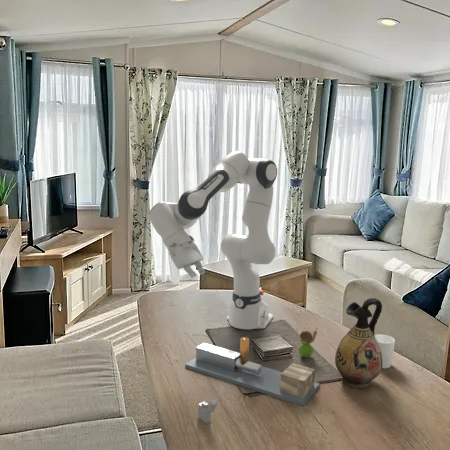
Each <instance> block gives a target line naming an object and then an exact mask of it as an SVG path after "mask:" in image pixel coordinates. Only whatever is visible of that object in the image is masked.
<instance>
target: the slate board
mask: <svg viewBox="0 0 450 450" xmlns="http://www.w3.org/2000/svg"><path fill="white" fill-rule="evenodd" d="M261 366H262V369H261V372H260V374H256V373H253V372H249V371H246V370H243V369H240V368H239V369H238V370H236V371H235V372H231V371H228V370H225V369H222V368H218V367H215V366H212V365H209V364H206V363H203V362H200V361H196V356H195V357H194V358H192V359H191V360H189V361H188V362H186V363H185V364H184V367H185V368H186V369H188V370H189V369H190V370H191V371H195V372H199V373H202V374H204V375H207V376H209V377H214V378H217V379H220V380H223V381H225V382H228V383H232V384H234V385H236V386H240V385H241V387H243V386H244V388H246V387H247V389H249V388H250V390H253V391H255V392H258V393H261V394H264V395H268V396H271V397H274V398H276V399H280V400H283V401H286V402H289V403H292V404H295V405H298V406H301V407H304V405H305V404H306V403H307V402H308V401H309V400H310V399H311V397H312V396H313V395H314V394H315V392H317V391H318V389H319V388H320V382H316V381H314V386H313V388H312V389H311V390H310V391H309V392H308V393H307V394H306V395H305V397H304V398H301V397H298V396H295V395H292V394H289V393H286V392H283V391H280V381H281V373H282V372H283V371H279V370H276V369H274V368H273V369H272V368H270V367H267V366H263V365H261Z"/></svg>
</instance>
